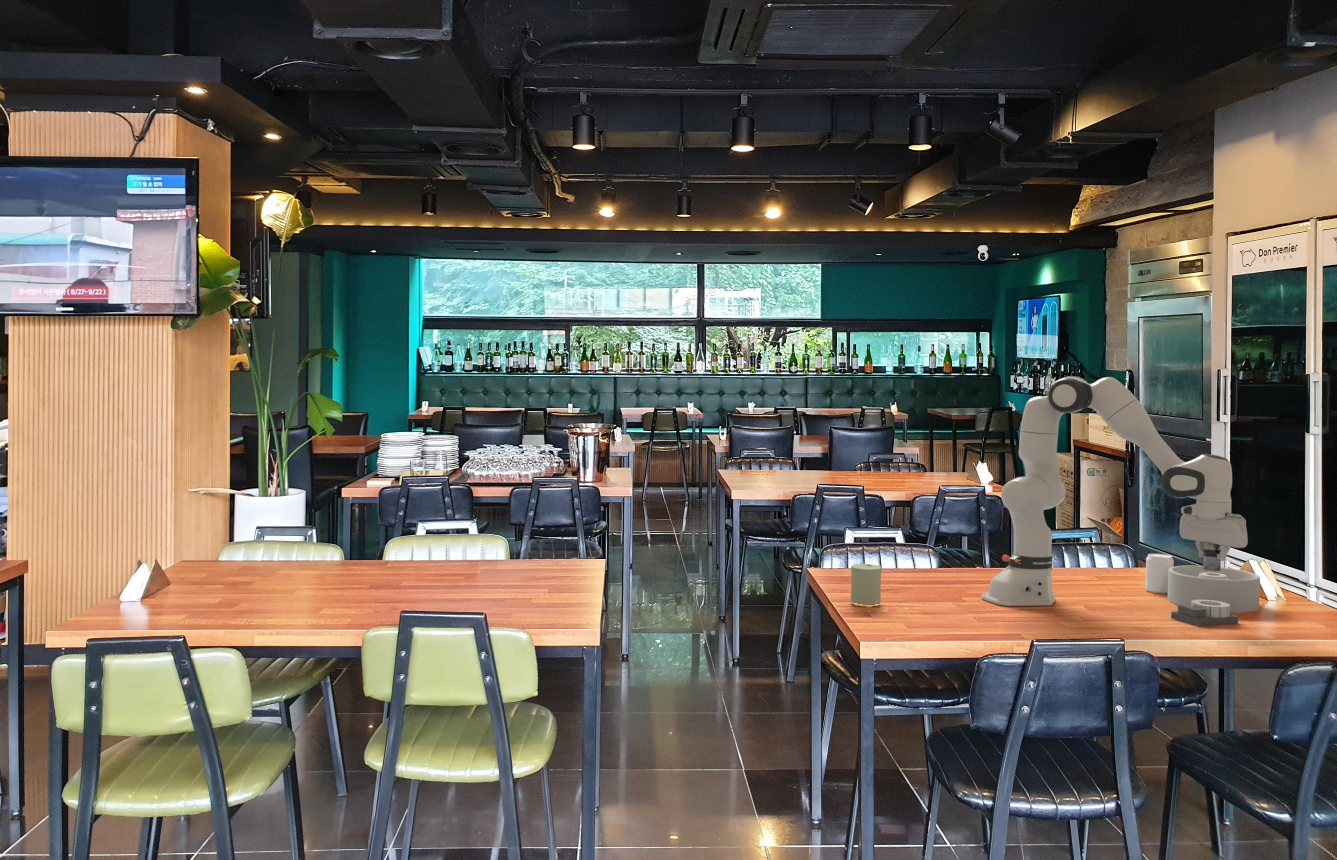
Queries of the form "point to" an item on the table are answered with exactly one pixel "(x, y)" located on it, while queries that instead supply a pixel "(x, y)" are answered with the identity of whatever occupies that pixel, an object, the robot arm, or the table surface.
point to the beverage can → (1158, 572)
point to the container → (1214, 587)
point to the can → (866, 584)
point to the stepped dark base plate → (1205, 613)
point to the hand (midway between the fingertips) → (1212, 558)
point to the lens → (1211, 557)
